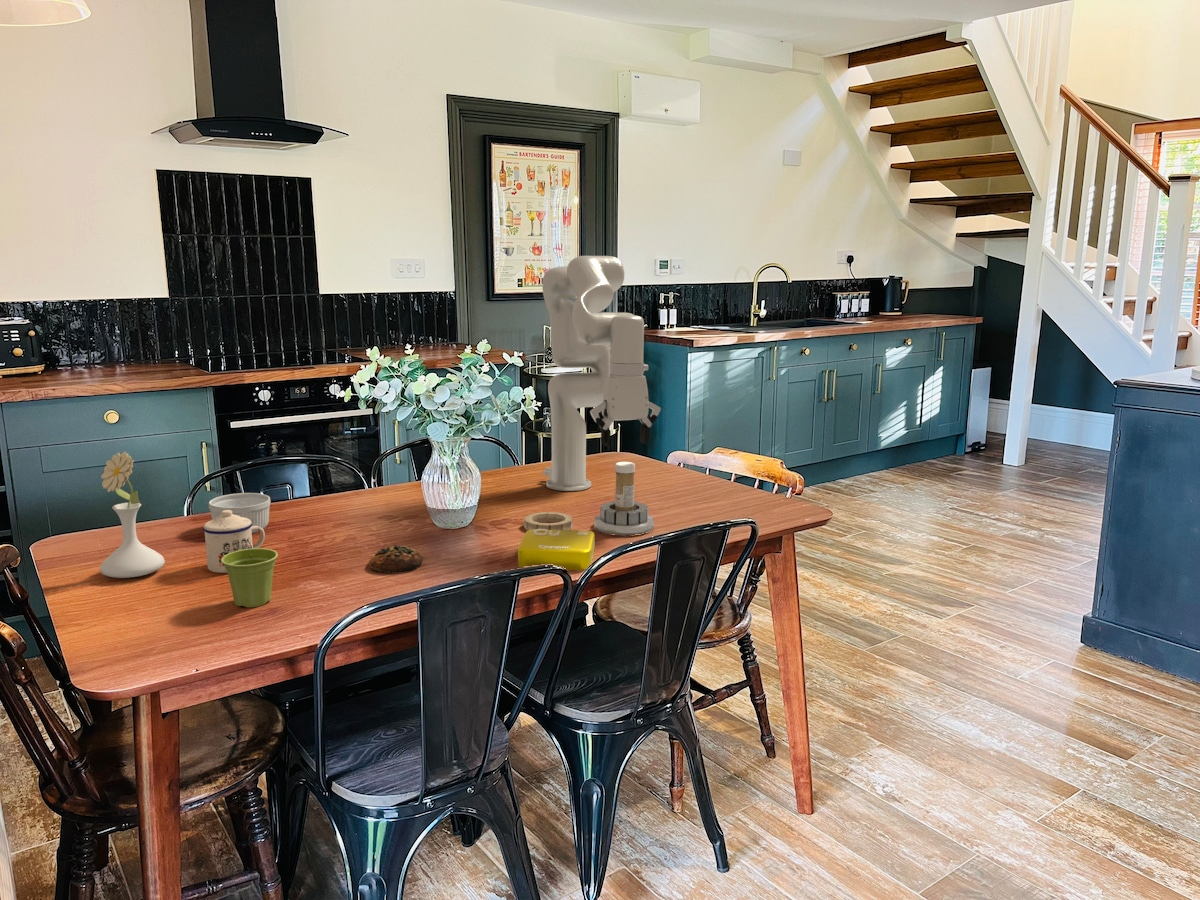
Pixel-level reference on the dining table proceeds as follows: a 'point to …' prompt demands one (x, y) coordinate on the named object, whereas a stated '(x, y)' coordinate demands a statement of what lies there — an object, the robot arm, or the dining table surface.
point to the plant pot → (250, 575)
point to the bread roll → (396, 559)
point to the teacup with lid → (228, 538)
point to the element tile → (557, 548)
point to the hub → (623, 520)
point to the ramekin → (243, 507)
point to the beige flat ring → (533, 521)
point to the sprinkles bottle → (624, 486)
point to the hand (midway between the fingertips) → (625, 444)
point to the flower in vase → (127, 526)
